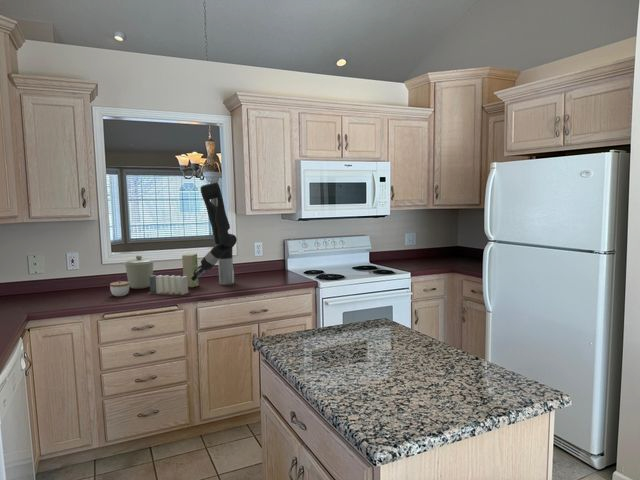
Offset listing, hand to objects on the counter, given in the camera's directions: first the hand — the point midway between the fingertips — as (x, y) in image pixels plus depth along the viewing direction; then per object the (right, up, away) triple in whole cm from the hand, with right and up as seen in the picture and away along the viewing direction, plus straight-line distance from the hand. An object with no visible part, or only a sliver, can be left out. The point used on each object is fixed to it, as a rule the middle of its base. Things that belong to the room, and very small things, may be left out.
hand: (192, 279), depth 267 cm
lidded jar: (-44, -10, +2) cm, 45 cm away
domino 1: (-26, -8, +8) cm, 28 cm away
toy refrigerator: (-8, -7, +25) cm, 27 cm away
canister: (-41, -7, +25) cm, 48 cm away
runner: (-16, -9, +6) cm, 19 cm away
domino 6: (-6, -8, +3) cm, 10 cm away
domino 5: (-10, -8, +4) cm, 13 cm away
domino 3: (-18, -8, +6) cm, 21 cm away
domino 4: (-14, -8, +5) cm, 17 cm away
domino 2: (-22, -8, +7) cm, 24 cm away
